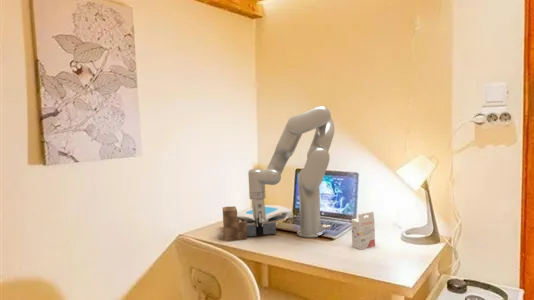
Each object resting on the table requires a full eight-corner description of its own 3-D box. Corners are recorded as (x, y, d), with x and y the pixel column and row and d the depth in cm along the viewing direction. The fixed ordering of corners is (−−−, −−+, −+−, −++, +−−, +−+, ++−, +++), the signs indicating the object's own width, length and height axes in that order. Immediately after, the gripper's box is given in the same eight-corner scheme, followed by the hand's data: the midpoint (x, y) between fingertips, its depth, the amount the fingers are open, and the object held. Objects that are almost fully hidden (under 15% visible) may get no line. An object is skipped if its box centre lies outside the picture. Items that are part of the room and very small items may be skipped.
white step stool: (230, 225, 200) (229, 214, 199) (262, 213, 222) (262, 203, 222) (262, 231, 187) (261, 219, 187) (293, 218, 209) (292, 207, 209)
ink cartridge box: (367, 242, 164) (366, 209, 163) (375, 246, 159) (374, 211, 158) (351, 246, 160) (350, 212, 159) (359, 250, 155) (358, 214, 154)
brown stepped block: (241, 226, 197) (240, 199, 195) (247, 239, 175) (245, 209, 174) (222, 228, 195) (220, 201, 194) (225, 241, 173) (223, 211, 172)
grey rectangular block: (274, 231, 183) (274, 216, 182) (276, 233, 180) (275, 218, 179) (239, 234, 180) (238, 220, 179) (239, 236, 177) (239, 221, 176)
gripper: (268, 198, 171) (270, 237, 172) (262, 191, 187) (263, 227, 189) (252, 199, 170) (253, 239, 171) (247, 192, 186) (248, 229, 187)
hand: (259, 233), depth 180 cm, fingers closed on grey rectangular block, 3 cm apart
